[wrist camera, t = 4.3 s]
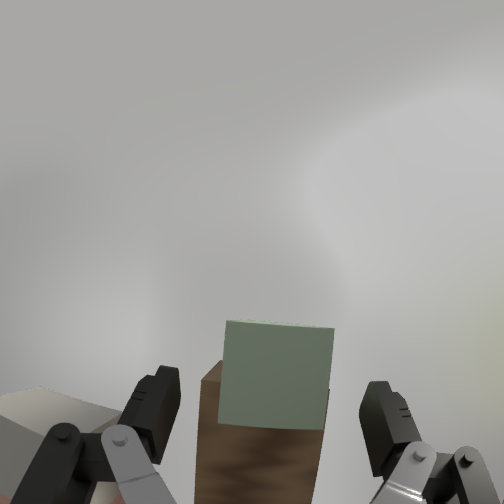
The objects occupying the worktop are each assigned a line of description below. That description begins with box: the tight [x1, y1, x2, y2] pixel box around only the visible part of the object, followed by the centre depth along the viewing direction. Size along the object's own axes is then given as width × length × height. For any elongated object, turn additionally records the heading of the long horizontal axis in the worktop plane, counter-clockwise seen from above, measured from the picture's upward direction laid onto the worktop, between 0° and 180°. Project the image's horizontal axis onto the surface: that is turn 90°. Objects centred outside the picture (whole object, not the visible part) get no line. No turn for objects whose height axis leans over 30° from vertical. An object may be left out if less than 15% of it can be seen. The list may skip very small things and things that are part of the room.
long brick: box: [218, 320, 334, 430], centre depth 22 cm, size 4×22×4 cm, turn 179°
